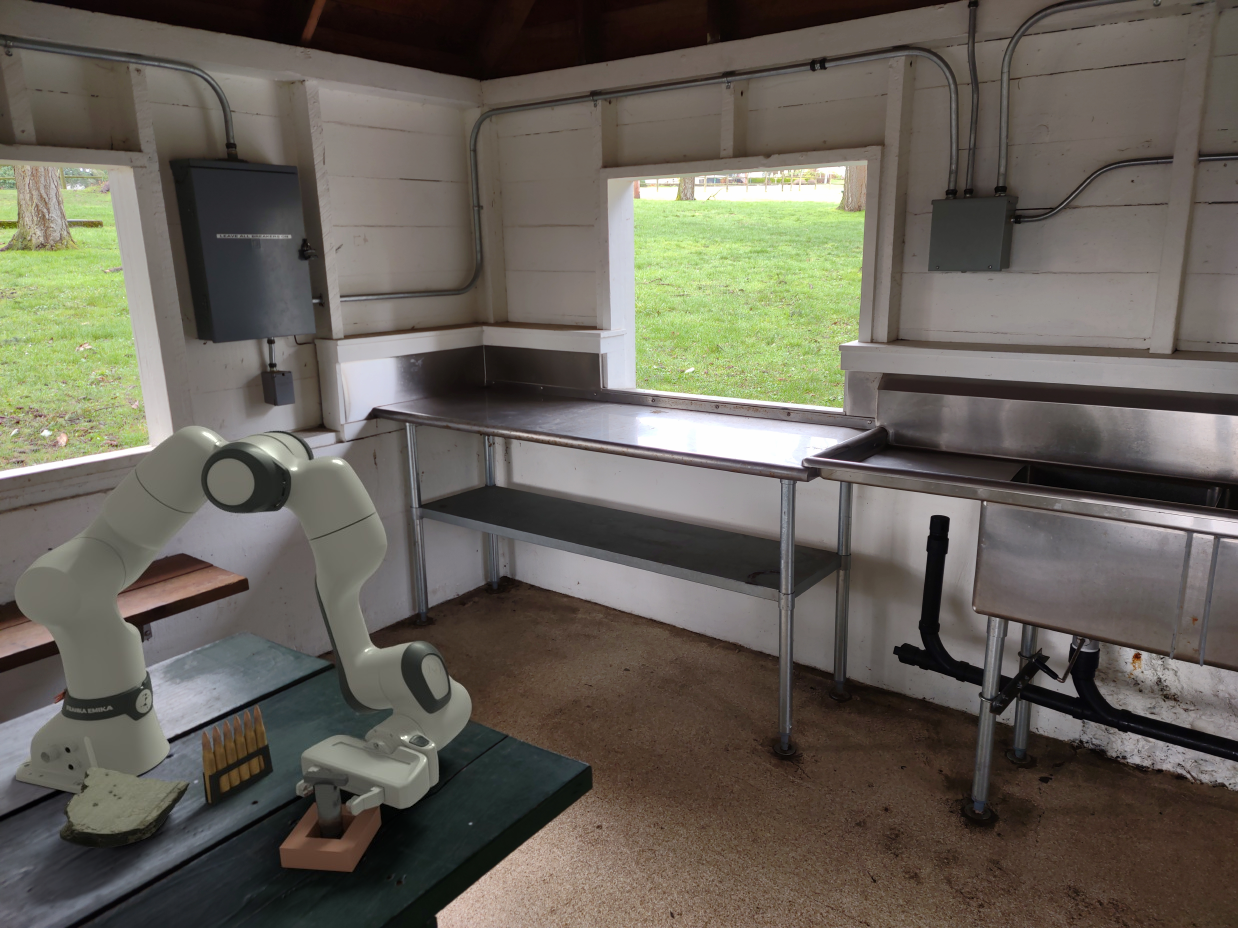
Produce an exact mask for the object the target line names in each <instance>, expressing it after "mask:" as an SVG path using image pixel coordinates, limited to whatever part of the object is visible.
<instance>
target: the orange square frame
mask: <svg viewBox="0 0 1238 928" xmlns="http://www.w3.org/2000/svg"><path fill="white" fill-rule="evenodd" d="M341 807H342V816H343V826H344V836H343V837H342V839H341V840H339V839H323V838H320V831H319V823H318V814H317V805H316V801H315V802H313V803H312V804H311V806H310V807H309V808H308V810H307V811H306V812H305V814H304V815H303V816H302V817H301V818H300V820H299V821H298V823H297V824H296V825H295V826H294V828H293V830H292V831H291V832H290V834H289V835H288V836H287V837H286V838H285V840H284V841H283V842H282V844H281V845H280V846H279V848H278V849H279V855H280V863H281V867H282V868H291V869H302V870H303V869H305V870H306V869H307V870H319V871H321V870H322V871H336V872H348V873H349V872H350V873H352V872H353V871H354V870H355V868H356V866H357V865H358V863H359V861H360V860H361V859H362V856H363V855H364V853H365V852H366V850H367V848H368V847H369V845H370V843H371V842H372V840H373V838H375V835H377V832H378V830H379V828H380V827H381V825H382V819H381V816H382V815H381V809H380V808H381V807H380V805H379V806H375V807H372V808H369V809H364V810H363V811H361V812H360V813H359V814H358V815H353V814H350V813H347V811H346V809H347V808H346V803H341Z"/></svg>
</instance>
